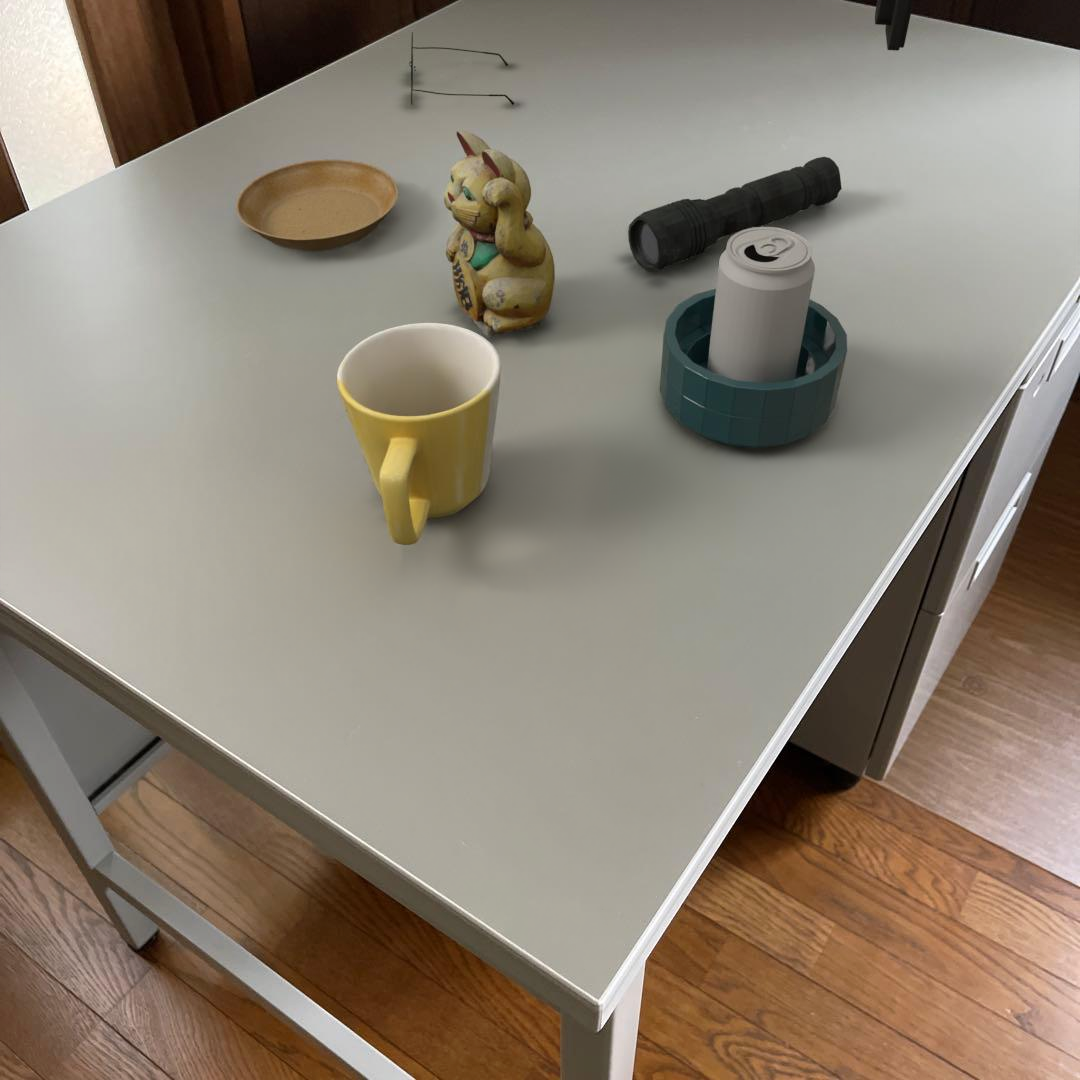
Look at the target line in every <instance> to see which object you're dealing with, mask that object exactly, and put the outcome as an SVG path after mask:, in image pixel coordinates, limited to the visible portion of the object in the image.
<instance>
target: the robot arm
mask: <svg viewBox="0 0 1080 1080" xmlns="http://www.w3.org/2000/svg"><path fill="white" fill-rule="evenodd" d="M914 1H915V0H876V5H875V12H874V25H876V26H877V25H879V26H880V25H881V26H885V29H884V31H885V39H886V48H887V49H886V50H887V51H899V50H900V49H904V47H905V44H906V39H907V34H908V30H909V25H910V20H911V17H912V16H911V15H912V10H913V6H914Z"/></svg>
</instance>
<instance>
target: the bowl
mask: <svg viewBox="0 0 1080 1080" xmlns="http://www.w3.org/2000/svg"><path fill="white" fill-rule="evenodd" d="M715 294H716V288H713V289H709V290H706V291H702V292H699V293H696V294H694V295H692V296H690V297H689V298H687V299H685V300H684V301H682V302H680V303H679V304H677V305H676V306H675V308H673V310H672V311H671V312H670V314H669V315H668V317H666V319H665V325H664V331H663V337H662V338H663V339H662V353H661V365H660V381H659V393H660V396H661V399H662V401H663V404H664V407H665V408H666V409H667V411H669V413H670V414H671V415H672V416H673V417H674V418H675V420H677V421H678V423H680V424H681V425H683V426H684V427H686V428H688V429H690V430H691V431H693V432H695V433H696V434H698V435H699V436H701V437H704V438H706V439H708V440H710V441H713V442H716V443H719V444H722V445H725V446H726V445H727V446H731V447H737V448H748V449H757V448H758V449H762V448H771V447H777V446H780V445H786V444H789V443H791V442H795V441H797V440H800V439H804V438H806V437H808V436H811V435H812V434H814V433H815V432H816V431H818V430H819V429H820V428H821V427H822V426H824V425H825V424H826V423H827V422H828V421H829V419H830V417H831V415H832V414H833V412H834V409H836V404H837V401H838V396H839V390H840V387H841V386H840V385H841V382H842V377H843V372H844V369H845V364H846V359H847V354H848V334H847V333H846V331H845V328H844V327H843V325H842V324H841V322H840V320H839V318H838V317H837V316H835V315H834V314H833V313H832V312H830V311H829V310H828V309H827V308H826V307H824V305H822V304H820V303H818V302H817V301H814V300H812V299H811V298H810V299H809V305H808V310H807V316H806V321H805V327H804V332H803V338H802V343H801V348H800V354H799V359H798V365H797V370H796V376H795V379H793V380H790V381H782V382H772V383H758V382H747V381H737V380H734V379H730V378H727V377H723V376H720V375H716V374H714V373H712V372H710V371H708V370H707V365H708V356H709V347H710V338H711V330H712V321H713V312H714V303H715Z"/></svg>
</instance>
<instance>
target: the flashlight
mask: <svg viewBox="0 0 1080 1080" xmlns="http://www.w3.org/2000/svg"><path fill="white" fill-rule="evenodd" d="M841 190H842V179H841V172H840V168H839V166H838V165H837V163H836V162H835V161H834V160H833V159H832V158H831V157H828V156H820V157H816V158H813V159H810V160H809V161H807V162H806V163H805V164H803V166H801V165H800V166H795V167H792V168H790V169H788V170H781V171H779V172H776V173H773V174H770V175H767V176H764V177H761V178H758V179H755V180H753V181H749V182H746V183H744V184H743V185H741V187H739V186H736V187H732V188H729V189H728V190H726V191H725V192H724V193H722V194H718V195H716V196H713V197H710V198H707V199H701V198H697V199H690V198H683V199H680V200H675V201H673V202H671V203H667V204H663V205H660V206H658V207H656V208H652V209H650V210H645V211H643V212H642V213H641V214H639V215H638V216H636V217H635V218H634V219H633V220H632V221H631V222H630V224H629V225H628V229H627V236H628V237H627V238H628V245H629V248H630V251H631V254H632V256H633V258H634V260H635V261H636V263H637V264H638V265H639V266H640V267H641V269H644V270H645V271H647V272H649V271H652V272H653V271H655V270H663V269H666V268H669V267H671V266H674V265H676V264H677V265H678V264H680V263H682V262H684V261H687V260H690V259H692V258H695V257H698V256H700V255H702V254H703V253H705V251H706V250H707V249H708V248H710V247H712V246H713V245H715V244H716V243H718V240H719V239H722V238H725V237H728V236H730V235H734V234H735V233H737V232H739V231H742V230H745V229H748V228H754V227H765V226H767V225H769V224H772V223H775V222H777V221H780V220H783V219H785V218H788V217H791V216H794V215H796V214H798V213H799V212H801V211H802V212H803V211H807V210H808V209H809V208H811V207H812V206H813V205H814V206H819V207H820V206H824V205H827V204H828V205H829V204H830V203H832V202H833V201H834V200H836V199H837V198H838V196H839V193H840V192H841Z"/></svg>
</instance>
